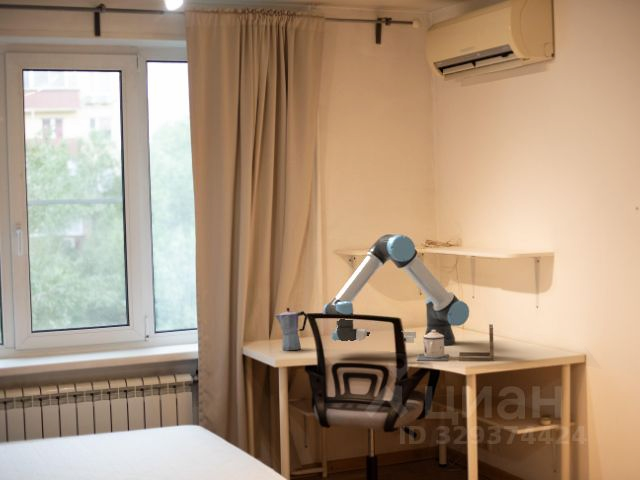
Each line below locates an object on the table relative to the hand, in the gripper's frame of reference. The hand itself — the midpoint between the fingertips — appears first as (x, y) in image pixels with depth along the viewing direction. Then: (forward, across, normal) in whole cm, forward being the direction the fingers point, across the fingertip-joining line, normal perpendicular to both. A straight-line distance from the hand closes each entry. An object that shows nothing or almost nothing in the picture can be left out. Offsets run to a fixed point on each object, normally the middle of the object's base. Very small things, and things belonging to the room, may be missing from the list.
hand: (415, 337), depth 376 cm
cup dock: (+26, 0, -9) cm, 28 cm away
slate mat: (+8, 0, -9) cm, 12 cm away
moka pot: (-60, -22, -10) cm, 65 cm away
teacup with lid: (+8, 0, -9) cm, 12 cm away
